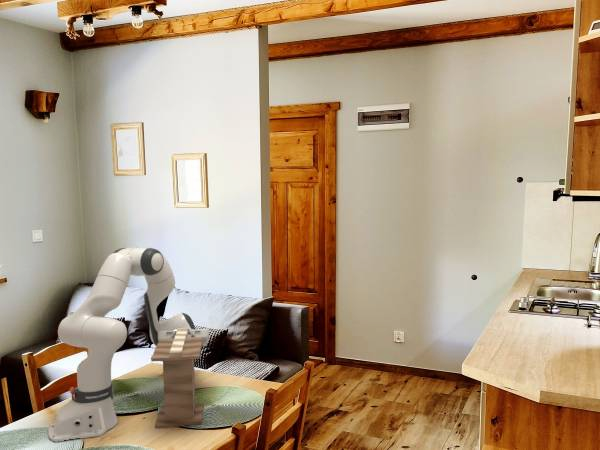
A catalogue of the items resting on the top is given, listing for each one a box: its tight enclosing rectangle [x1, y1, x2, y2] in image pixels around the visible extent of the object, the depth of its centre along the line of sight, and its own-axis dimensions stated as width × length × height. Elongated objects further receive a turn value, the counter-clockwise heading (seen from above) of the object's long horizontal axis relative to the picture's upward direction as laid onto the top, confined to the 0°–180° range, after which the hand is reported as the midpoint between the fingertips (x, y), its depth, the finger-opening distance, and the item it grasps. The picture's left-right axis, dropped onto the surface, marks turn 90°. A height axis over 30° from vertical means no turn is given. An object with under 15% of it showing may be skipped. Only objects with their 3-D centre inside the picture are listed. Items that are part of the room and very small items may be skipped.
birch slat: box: [169, 328, 188, 358], centre depth 190 cm, size 30×4×2 cm, turn 8°
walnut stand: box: [150, 337, 205, 429], centre depth 187 cm, size 22×16×26 cm
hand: (182, 331), depth 201 cm, fingers closed on birch slat, 4 cm apart
